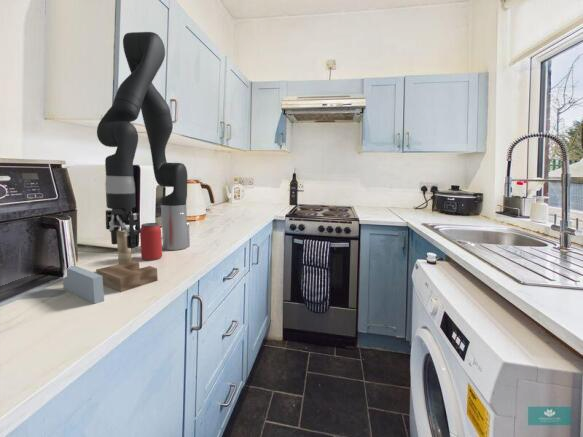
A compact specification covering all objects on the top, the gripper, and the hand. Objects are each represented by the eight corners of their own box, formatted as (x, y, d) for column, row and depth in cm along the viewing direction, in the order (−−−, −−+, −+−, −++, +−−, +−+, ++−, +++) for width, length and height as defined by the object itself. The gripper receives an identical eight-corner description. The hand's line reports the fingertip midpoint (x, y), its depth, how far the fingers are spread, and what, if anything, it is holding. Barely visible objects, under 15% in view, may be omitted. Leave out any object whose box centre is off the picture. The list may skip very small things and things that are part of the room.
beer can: (144, 262, 100) (142, 226, 98) (139, 257, 105) (137, 223, 103) (164, 258, 104) (163, 224, 102) (159, 254, 109) (157, 222, 107)
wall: (72, 285, 78) (70, 263, 77) (104, 300, 70) (102, 276, 69) (63, 288, 76) (61, 265, 75) (94, 303, 68) (92, 278, 67)
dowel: (128, 267, 94) (125, 229, 92) (134, 269, 92) (132, 231, 90) (116, 270, 91) (114, 231, 89) (123, 272, 89) (120, 232, 87)
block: (133, 272, 89) (132, 260, 89) (157, 280, 83) (156, 268, 83) (97, 281, 81) (96, 269, 81) (121, 291, 75) (120, 278, 74)
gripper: (147, 192, 87) (149, 246, 90) (120, 190, 95) (123, 240, 97) (121, 193, 81) (124, 251, 83) (94, 191, 89) (98, 244, 91)
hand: (123, 245), depth 90 cm, fingers open, 8 cm apart
